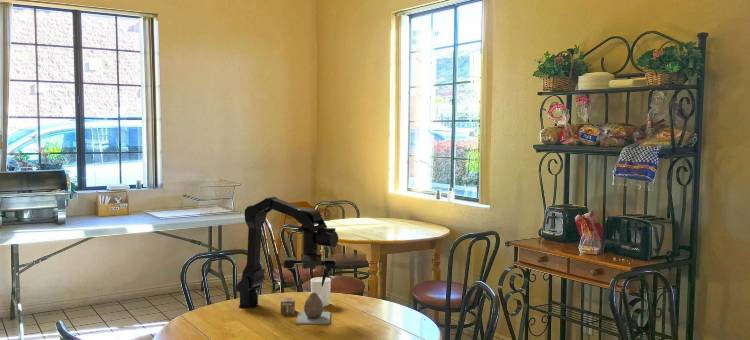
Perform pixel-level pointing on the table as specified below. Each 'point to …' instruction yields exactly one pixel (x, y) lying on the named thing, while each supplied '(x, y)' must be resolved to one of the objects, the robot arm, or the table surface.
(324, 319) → the grey mat
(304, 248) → the robot arm
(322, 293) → the white cup
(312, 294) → the vase
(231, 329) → the table surface
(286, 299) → the letter cube
